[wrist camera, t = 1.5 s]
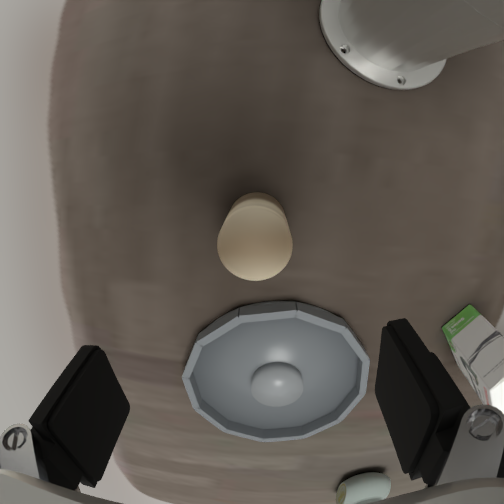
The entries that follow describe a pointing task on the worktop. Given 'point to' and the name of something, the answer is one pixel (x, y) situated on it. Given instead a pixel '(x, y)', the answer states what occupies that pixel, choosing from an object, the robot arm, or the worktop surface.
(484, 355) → the ink box
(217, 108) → the worktop surface
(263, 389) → the ring tray
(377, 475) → the air freshener
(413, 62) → the robot arm
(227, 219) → the beige cylinder
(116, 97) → the worktop surface
